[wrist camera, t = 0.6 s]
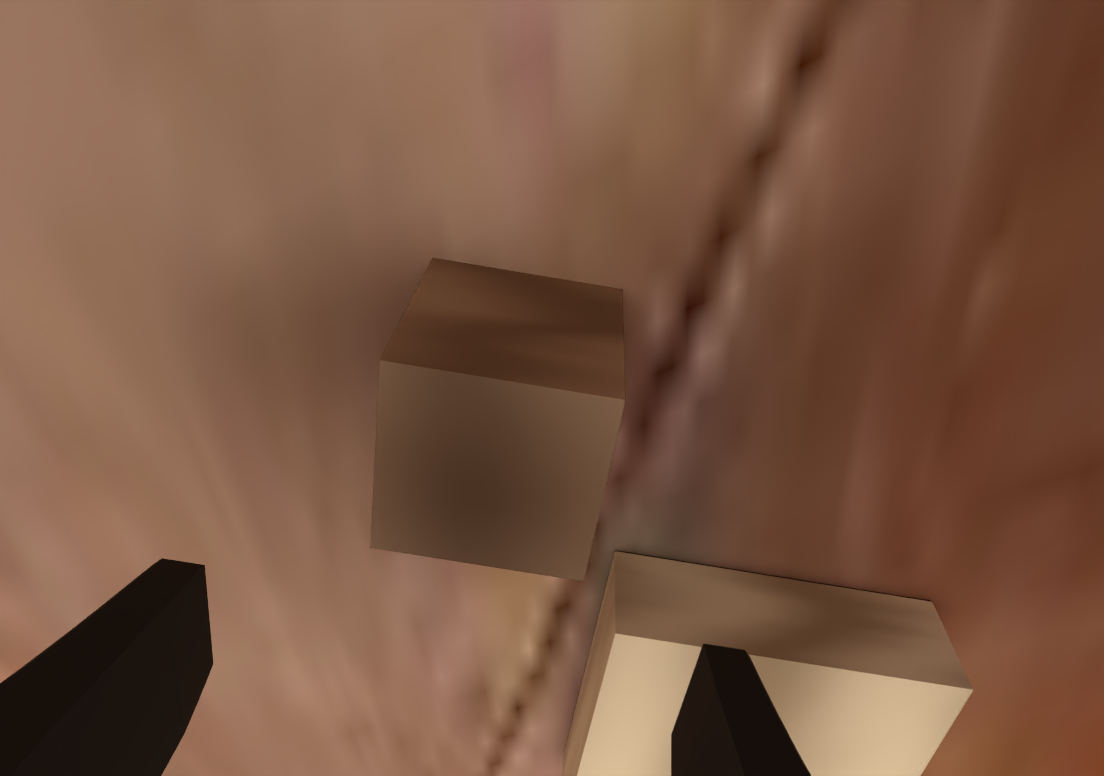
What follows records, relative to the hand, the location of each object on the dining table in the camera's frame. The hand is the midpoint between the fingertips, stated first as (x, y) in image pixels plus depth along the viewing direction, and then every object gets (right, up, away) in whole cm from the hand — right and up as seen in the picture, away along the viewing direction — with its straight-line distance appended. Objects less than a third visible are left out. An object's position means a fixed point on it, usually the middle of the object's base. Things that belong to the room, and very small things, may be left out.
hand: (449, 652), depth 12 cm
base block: (+7, -5, +13) cm, 16 cm away
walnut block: (+1, +5, +8) cm, 9 cm away
